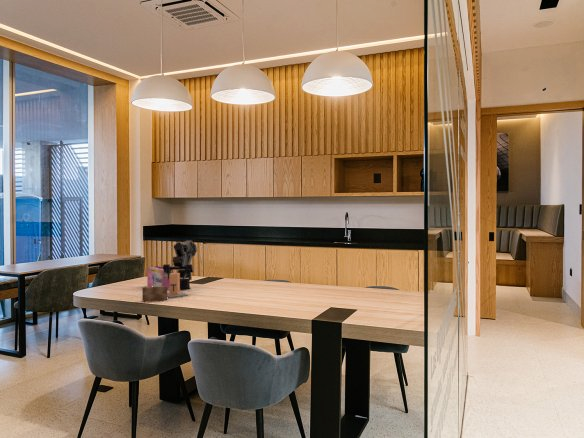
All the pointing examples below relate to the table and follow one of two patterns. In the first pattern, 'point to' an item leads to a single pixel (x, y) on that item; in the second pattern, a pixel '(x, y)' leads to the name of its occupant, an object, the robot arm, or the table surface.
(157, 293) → the walnut screen
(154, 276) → the gum box
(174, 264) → the robot arm
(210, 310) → the table surface
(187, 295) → the grey mat
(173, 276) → the letter block
